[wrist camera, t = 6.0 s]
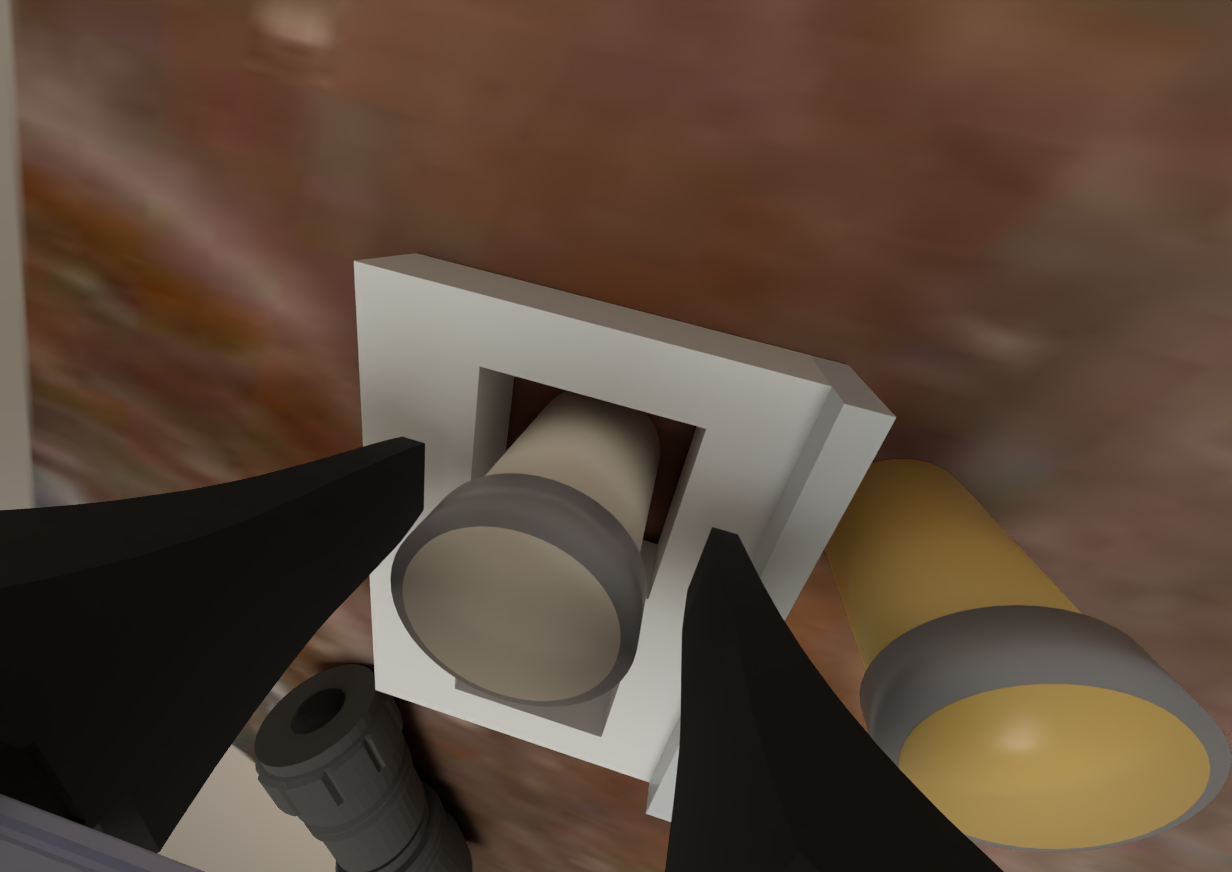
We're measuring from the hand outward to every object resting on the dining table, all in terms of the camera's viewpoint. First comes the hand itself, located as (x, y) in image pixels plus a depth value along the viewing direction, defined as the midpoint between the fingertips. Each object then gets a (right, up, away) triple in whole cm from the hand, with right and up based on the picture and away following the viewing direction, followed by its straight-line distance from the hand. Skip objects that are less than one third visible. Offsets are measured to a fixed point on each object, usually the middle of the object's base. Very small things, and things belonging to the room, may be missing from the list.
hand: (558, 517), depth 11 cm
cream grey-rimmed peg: (+1, +2, +3) cm, 4 cm away
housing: (0, -1, +5) cm, 5 cm away
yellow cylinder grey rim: (+9, 0, +2) cm, 10 cm away
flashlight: (-10, -15, +14) cm, 23 cm away
